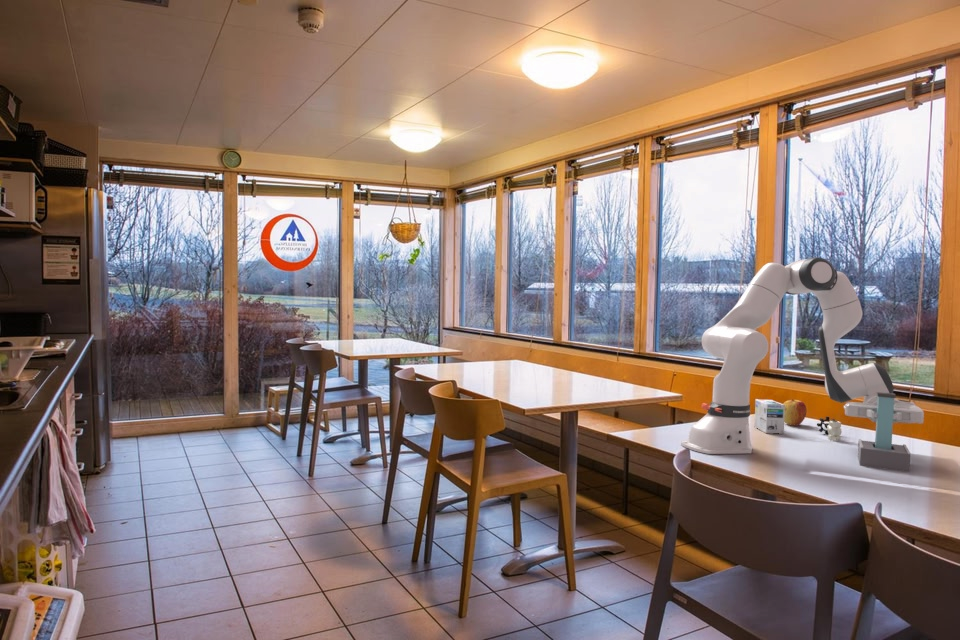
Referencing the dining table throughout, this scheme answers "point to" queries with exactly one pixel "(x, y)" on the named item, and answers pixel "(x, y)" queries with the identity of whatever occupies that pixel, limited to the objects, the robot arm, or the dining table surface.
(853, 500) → the dining table surface
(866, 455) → the grey socket base
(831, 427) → the valve
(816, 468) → the dining table surface
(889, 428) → the plug
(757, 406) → the light bulb box
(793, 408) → the apple
